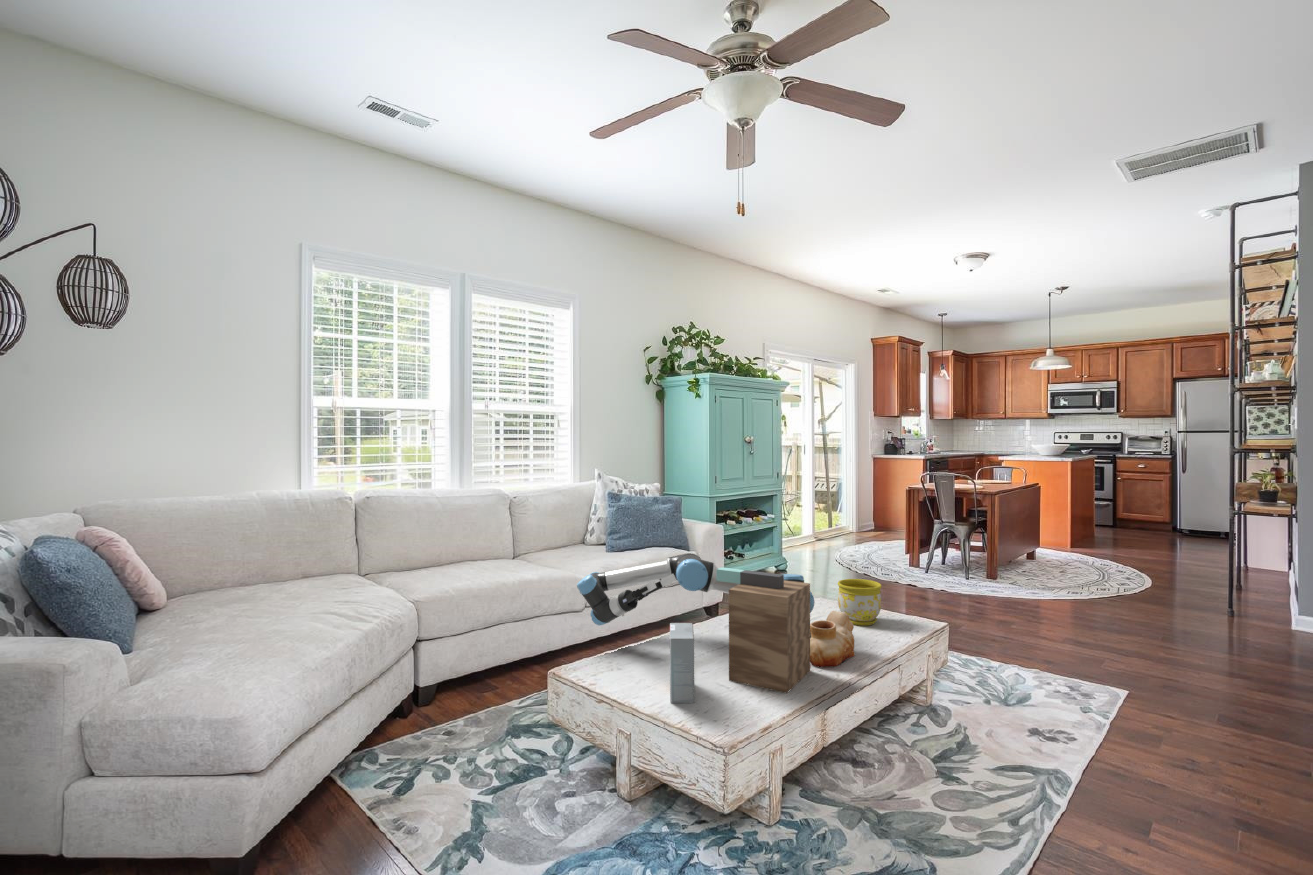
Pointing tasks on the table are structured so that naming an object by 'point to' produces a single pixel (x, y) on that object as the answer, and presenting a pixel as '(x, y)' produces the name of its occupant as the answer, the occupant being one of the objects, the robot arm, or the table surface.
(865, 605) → the flowerpot
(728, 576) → the bar
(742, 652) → the upright wooden block
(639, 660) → the table surface
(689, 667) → the hard drive box
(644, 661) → the table surface
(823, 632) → the ceramic vessel
